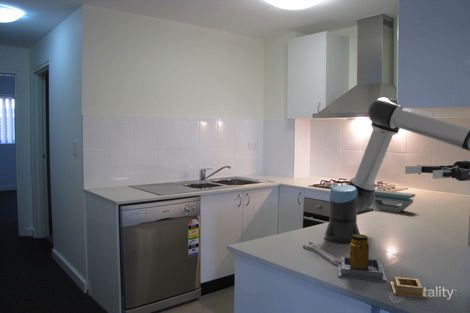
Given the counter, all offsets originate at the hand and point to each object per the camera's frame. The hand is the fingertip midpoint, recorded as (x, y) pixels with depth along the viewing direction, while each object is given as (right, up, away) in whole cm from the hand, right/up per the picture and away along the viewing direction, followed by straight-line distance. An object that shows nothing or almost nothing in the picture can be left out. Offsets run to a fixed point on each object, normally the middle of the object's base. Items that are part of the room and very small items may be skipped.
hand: (418, 172), depth 132 cm
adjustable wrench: (-31, -34, +16) cm, 48 cm away
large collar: (-21, -34, -2) cm, 40 cm away
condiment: (-21, -34, -3) cm, 40 cm away
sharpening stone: (+29, -27, +95) cm, 103 cm away
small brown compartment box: (-12, -35, -18) cm, 41 cm away
